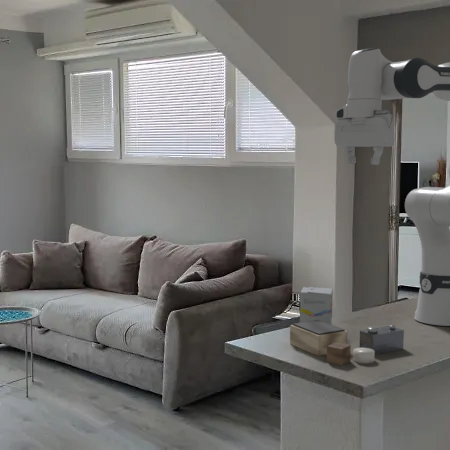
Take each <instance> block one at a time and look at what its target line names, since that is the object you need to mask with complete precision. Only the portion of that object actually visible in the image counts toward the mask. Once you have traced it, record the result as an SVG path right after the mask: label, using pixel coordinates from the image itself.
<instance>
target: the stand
mask: <svg viewBox="0 0 450 450" xmlns="http://www.w3.org/2000/svg"><path fill="white" fill-rule="evenodd" d="M289 329H290V330H289V344H290V346H293V347H296V348H298V347H299V349H300V350H304V351H305V350H306V352H308V353H310V354H313V355H314V356H317V357H320V356H327V346H328V345H331V344H333V343H341V344H346V345H348V330H346V329H344V328H342V327H339V326H336V325H333V324H332V325H331V324H328V323H325V322H322V321H319V320H315V321H308V322H301V323H300V322H296V323H292V324H290V325H289Z"/></svg>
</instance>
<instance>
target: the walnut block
mask: <svg viewBox="0 0 450 450" xmlns="http://www.w3.org/2000/svg"><path fill="white" fill-rule="evenodd" d="M351 350H352V349H351V345H350V344H347V345H346V344H341V343H333V344H331V345H328V346H327V355H326V363H328V364H334V365H338V366H343V365H346V364H348V363H351Z"/></svg>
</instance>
